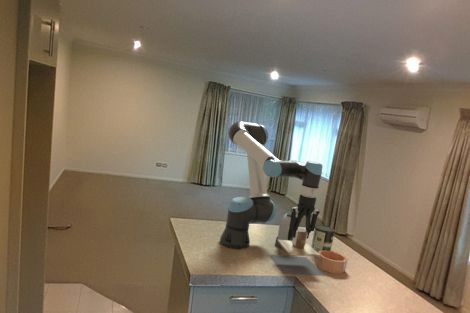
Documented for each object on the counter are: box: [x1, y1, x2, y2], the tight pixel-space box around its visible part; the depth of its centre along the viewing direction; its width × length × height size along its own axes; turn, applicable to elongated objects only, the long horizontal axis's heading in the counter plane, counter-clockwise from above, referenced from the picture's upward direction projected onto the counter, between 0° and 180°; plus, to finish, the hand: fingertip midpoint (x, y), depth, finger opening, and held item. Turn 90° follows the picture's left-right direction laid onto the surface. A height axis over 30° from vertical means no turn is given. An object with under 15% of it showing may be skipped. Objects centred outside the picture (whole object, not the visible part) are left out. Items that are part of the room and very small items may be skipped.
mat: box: [268, 254, 326, 277], centre depth 172 cm, size 20×20×1 cm
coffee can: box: [310, 224, 336, 253], centre depth 193 cm, size 10×10×14 cm
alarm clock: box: [274, 211, 298, 249], centre depth 197 cm, size 16×10×18 cm, turn 152°
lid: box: [277, 228, 320, 258], centre depth 171 cm, size 15×15×9 cm
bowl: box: [315, 250, 348, 274], centre depth 176 cm, size 13×13×6 cm
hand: (298, 244), depth 171 cm, fingers closed on lid, 4 cm apart
